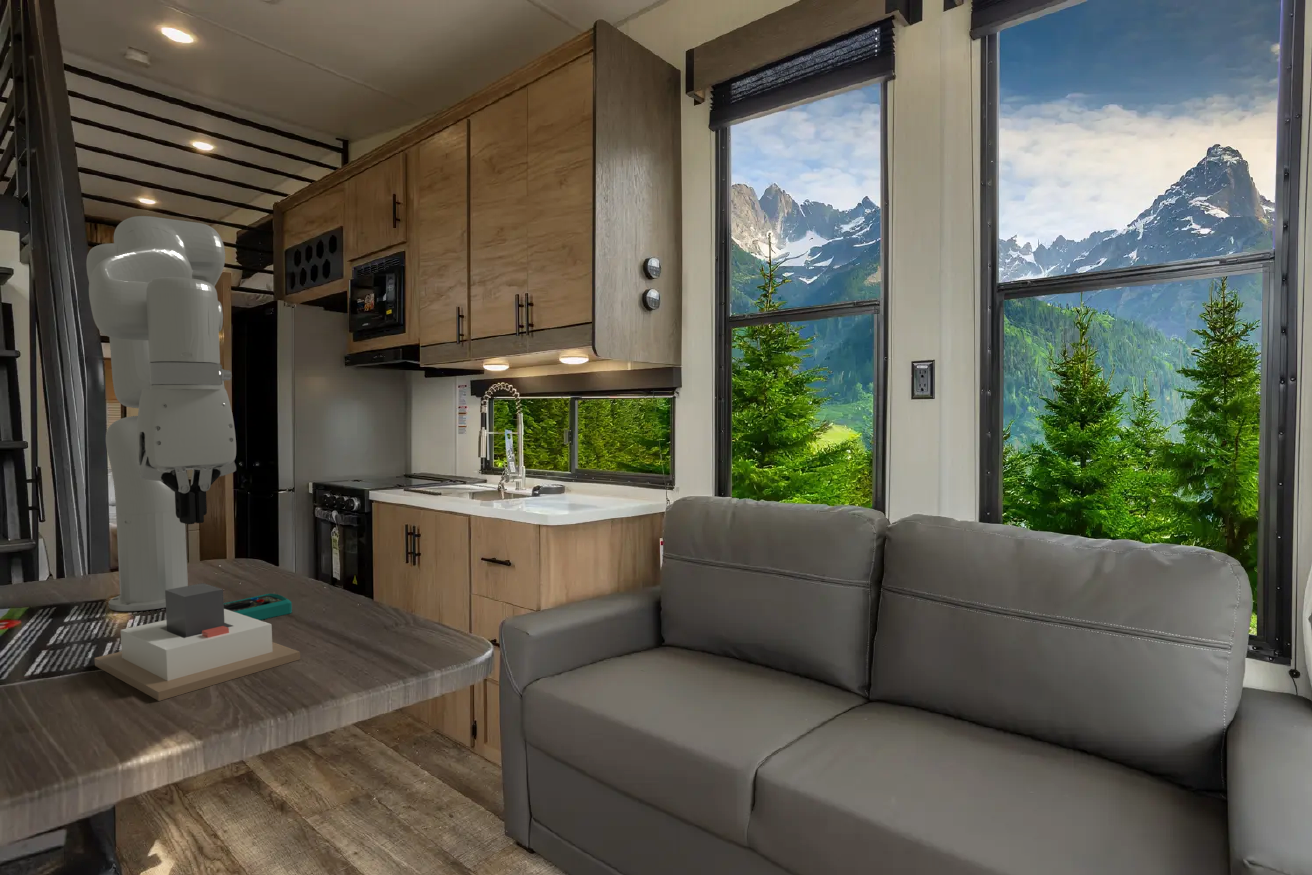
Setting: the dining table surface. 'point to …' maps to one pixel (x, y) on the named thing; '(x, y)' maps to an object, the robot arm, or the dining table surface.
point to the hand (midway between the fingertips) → (191, 522)
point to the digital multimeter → (261, 606)
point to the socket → (194, 656)
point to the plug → (194, 609)
